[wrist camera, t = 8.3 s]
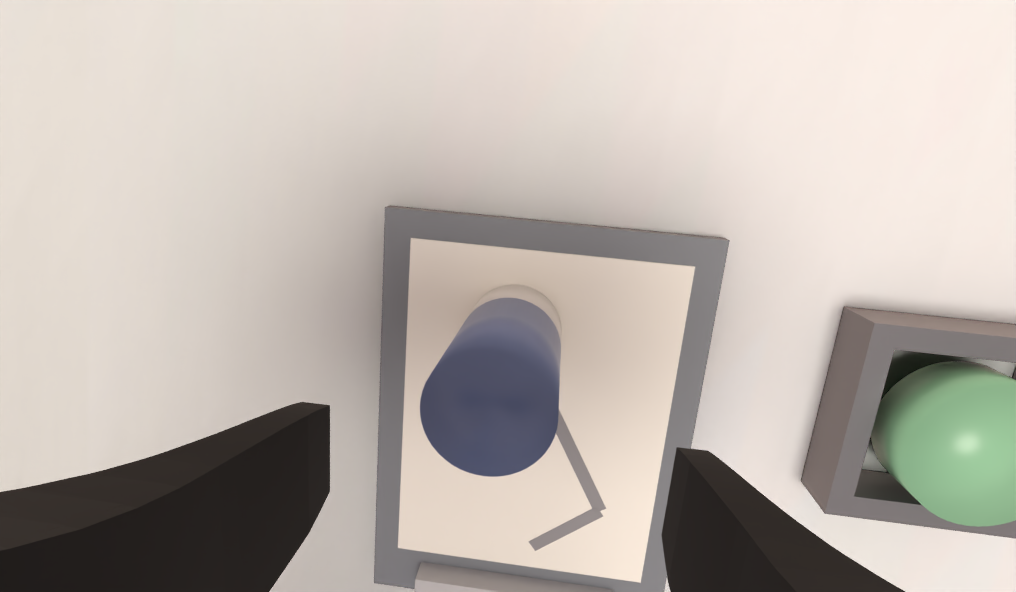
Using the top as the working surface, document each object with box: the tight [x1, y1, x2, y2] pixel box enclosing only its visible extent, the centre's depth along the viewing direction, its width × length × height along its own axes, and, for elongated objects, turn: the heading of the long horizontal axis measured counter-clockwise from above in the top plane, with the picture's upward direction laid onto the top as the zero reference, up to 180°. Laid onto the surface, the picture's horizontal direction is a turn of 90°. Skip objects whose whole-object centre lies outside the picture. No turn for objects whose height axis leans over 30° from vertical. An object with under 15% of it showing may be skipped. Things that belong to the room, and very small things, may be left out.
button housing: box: [801, 307, 1016, 538], centre depth 19 cm, size 7×7×2 cm
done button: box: [871, 361, 1016, 527], centre depth 18 cm, size 5×5×2 cm
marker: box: [420, 284, 562, 477], centre depth 17 cm, size 3×3×7 cm
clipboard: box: [374, 206, 729, 592], centre depth 21 cm, size 16×12×2 cm
